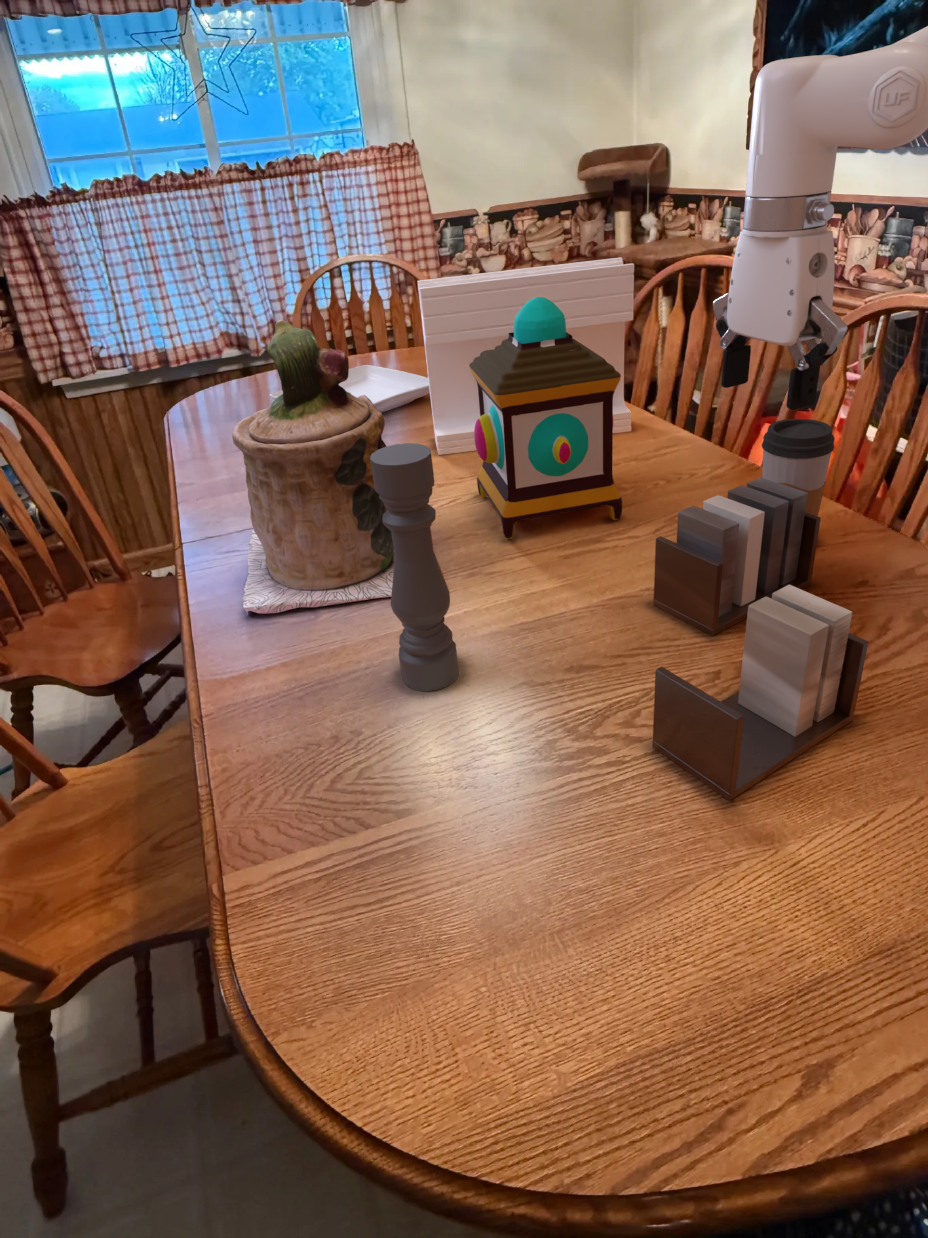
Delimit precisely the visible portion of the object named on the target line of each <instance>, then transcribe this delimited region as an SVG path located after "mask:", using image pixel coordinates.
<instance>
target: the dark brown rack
mask: <svg viewBox="0 0 928 1238" xmlns="http://www.w3.org/2000/svg"><path fill="white" fill-rule="evenodd" d="M852 617H853V611H852V610H850V609H848V608H845V607H843V606H840V605H838V604H835V603H833V602H831V601H829V600H826V599H824V598H822V597H820V596H817V595H815V594H813V593H810V592H807V591H806V590H804V589H802V590H801V589H799V588H796V587H794V586H792V585H788V586H786V587H784V588H782V589H780V590H778V591H776V592H774V593H773V594H772V599H771V598H769V597H764V598H762V599H760V600H758V601H756V602H754V603H752V604H750V605H749V606H748V614H747V618H746V624H745V635H744V642H743V643H744V644H743V654H742V660H741V661H742V662H741V669H740V671H741V672H740V681H739V689H738V691H736V692H735V693H733V694H732V695H729V696H728V697H726V698H724V699H722V700H721V701H720V700H719V699H717V698H716V697H714V696H712V695H711V694H708V693H707V692H705V691H703V690H702V689H700V688H699V687H697V686H695V685H694V684H692V683H690V682H689V681H687V680H685V679H683V678H682V677H680V676H679V675H677V674H675V673H674V672H672V671H670V670H668V669H667V668H665V667H663V666H660V667H657V668H656V669H655V671H654V674H655V675H654V695H653V696H654V697H653V703H654V704H653V724H652V743H651V744H652V745H651V746H652V749H654V750H656V751H657V752H659V754H662V755H663V756H664V757H665V758H667V759H668V760H670V761H672V762H673V763H674V764H676V765H677V766H678V767H680V768H681V769H683V770H684V771H685V772H687V773H689V775H691V776H693V777H694V778H695V779H697V780H698V781H700V782H701V783H702V784H704V785H706V786H707V787H708V788H709V789H711V790H712V791H714V792H715V793H717V794H718V795H719V796H721V797H723V799H725V800H726V801H728V802H730V801H732V800H733V799H734V798H736V797H738V796H739V795H740V794H742V793H744V792H745V791H747V790H748V789H750V788H752V787H753V786H754V785H756V784H757V783H759V782H761V781H762V780H763V779H766V778H768V776H770V775H772V774H773V773H774V772H776V771H778V770H779V769H781V768H782V767H783V766H785V765H787V764H788V763H789V762H791V761H793V760H794V759H796V758H797V757H799V756H800V755H803V754H804V753H806V752H807V751H808V750H809V749H812V748H813V747H814V746H815V745H817V744H819V743H820V742H821V741H823V740H825V739H826V738H828V737H829V736H831V735H832V734H834V733H835V732H837V731H839V730H840V729H841V728H843V727H845V726H847V724H849V723H851V722H852V721H853V720H854V717H855V711H856V706H857V701H858V697H859V692H860V687H861V681H862V677H863V672H864V667H865V661H866V656H867V652H868V647H869V641H868V640H866V639H864V638H861V637H859V636H857V635H855V634H853V633H851V632H850V627H851V623H852Z"/></svg>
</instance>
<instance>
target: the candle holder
mask: <svg viewBox="0 0 928 1238" xmlns="http://www.w3.org/2000/svg"><path fill="white" fill-rule="evenodd" d="M432 457H433V456H432V449H431V448H430V447H429V446H427V445H425V444H421V443H413V442H412V443H410V442H408V443H407V442H406V443H396V444H391V445H388V446H387V445H386V447H384V448H381V449H379V450H376V451H375V452H374V453H373V454H371V457H370V461H371V467H372V474H373V480H374V486H375V491H376V492H377V493H378V494H379V498H380V499H381V500H382V502H383V503H384V505H385V507H386V508H387V509H388V510H387V511H386V512H385V513H384V514H383V517H382V521H383V524H384V525H385V526H386V527H387V528H388V529H389V530H390V531H391V533H392V540H393V547H394V553H395V563H394V574H393V584H392V594H391V597H390V607H391V610H392V613H393V614H394V615H395V616H396V618H397V619H398V620H399V621H400V622H401V626H402V627H403V630H402V632H401V633H400V634H399V641H398V644H399V648H398V659H399V667H400V673H401V678H402V682H403V683H404V685H405V686H406V687H408V688H410V689H412V690H413V691H419V692H420V691H421V692H434V691H435V692H436V691H439V690H441V689H444V688H447V687H449V686H451V685H453V683H455V682H456V680H457V679H458V677H459V674H460V672H459V671H460V668H459V659H458V652H457V644H456V642H455V641H454V640H453V631H452V630H451V628H450V627H449V626H448V625H446V624H445V616H446V615H447V614H448V611H449V609H450V605H451V595H450V593H451V592H450V589H449V587H448V585H447V582H446V580H445V579H446V578H445V577H444V575H443V572H442V569H441V566H440V564H439V561H438V559H437V556H436V554H435V551H434V546H433V545H434V544H433V538H432V537H433V536H432V529H431V526H432V524H433V523H434V521H435V520H436V518H437V517H436V514H437V512H436V509H435V508H434V507H433V506H432V505H430V504H429V503H430V498H431V496H432V495H433V487H434V486H435V475H434V467H433V465H434V464H433V458H432Z"/></svg>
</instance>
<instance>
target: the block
mask: <svg viewBox="0 0 928 1238" xmlns="http://www.w3.org/2000/svg"><path fill="white" fill-rule="evenodd" d="M634 273H635V263H632V262H631V263H625V264H624V261H623V257H612V258H604V259H603V258H602V259H596V260H586V261H579V262H569V263H561V264H551V265H543V266H536V267H534V266H533V267H526V268H515V269H508V270H499V271H490V272H482V273H473V274H463V275H456V276H455V275H454V276H446V277H445V276H444V277H438V278H429V279H421V280H417V290H418V291H417V292H418V299H419V307H420V317H421V325H422V334H423V343H424V352H425V358H426V359H425V361H426V370H427V378H428V380H429V389H430V393H429V397H430V405H431V414H432V423H433V432H434V442H435V445H436V450H437V454H438V456H440V455H443V456H444V455H449V454H457V453H467V452H475V451H477V450H476V446H475V441H474V429H475V424H476V421H477V420H478V418H479V417H480V407H479V395H478V385H477V381H476V380H475V378H474V376H473V374H472V373H471V370H470V367H469V364H470V363H472V362H473V361H474V358H475V357H478V356H480V354H481V352H483V351H486V350H493V349H495V347H496V346H498V345H501V343H502V341H503V340H505V339H508V337H509V333H512V332H514V321H515V316H516V315H517V314H518V312H519V311H520V310H521V308H522V307H523V306H524V305H525V304H526V303H527V302H528V301H529V300H531V299H533V298H536V297H543V298H546V299H548V300H550V301H552V302H553V303H554V304H555V305H556V306H557V307H558V308H559V309H560V310H561V311H562V312H563V314H564V317H565V322H566V332H567V333H568V334H570V335H572V338H573V339H575V340H576V341H578V342H579V343H581V344H583V345H584V346H586V347H587V348H589V349H590V350H592V351H593V352H595V353H596V354H598V355H599V356H601V357H602V358H604V359H605V360H606V362H608V363H609V364H611V365H612V366H613V367H614V368H615V370H616V371H617V372H619V373H620V375H621V378H620V381H619V383H618V385H617V387H616V389H615V392H614V394H613V434H620V433H627V432H632V415H633V414H632V413H633V412H632V411H631V410H630V408H628V407H627V405H626V402H625V329H626V328H625V327H626V326H625V324H626V322H631V321H634V306H635V305H634V304H635V303H634V302H635V301H634V299H635V298H634V297H635V294H634V291H635V274H634Z"/></svg>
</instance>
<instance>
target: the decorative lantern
mask: <svg viewBox="0 0 928 1238" xmlns="http://www.w3.org/2000/svg"><path fill="white" fill-rule="evenodd" d="M469 367H470V370H471V373H472V374H473V376H474V378H475V380H476V381H477V385H478V395H479V407H480V417H479V418H478V420H477V421H476V424H475V429H474V441H475V446H476V450H475V451H476V452H477V454H478V457H480V459H481V461H482V464H481V466H480V468H479V471H478V474H477V478H476V484H477V491H478V494H479V496H480V497H481V498H483V499H484V498H487V499H488V500H489V502H490V503H491V505H492V506H493V508H494V510H495V511H496V513H497V514H498V516H499V518H500V521H501V526H502V533H503V536H504V538H505V539H507V540H510V539H511V540H512V538H513V537H514V529H515V525H516V523H518V522H520V521H523V520H525V521H526V520H531V519H535V518H543V517H548V516H553V515H554V516H555V515H559V514H565V513H571V512H576V511H584V510H588V509H593V508H600V507H605V506H608V508H609V516H610V518H611V519H612V520H613V521H618V520H620V519H621V517H622V515H623V514H622V513H623V499H622V496H621V493H620V491H619V489H618V487H617V485H616V483H615V481H614V476H613V447H614V445H613V444H614V443H613V439H614V438H613V435H614V433H613V394H614V392H615V389H616V387H617V385H618V383H619V381H620V378H621V375H620V373H619V372H617V371H616V370H615V368H614V367H613V366H612V365H611V364H609V363H608V362H606V360H605V359H604V358H602V357H601V356H599V355H598V354H596V353H595V352H593V351H592V350H590V349H589V348H587V347H586V346H584V345H583V344H581V343H579V342H578V341H576V340H575V339H573V338H572V335H570V334H568V333H567V332H566V322H565V317H564V314H563V312H562V311H561V310H560V309H559V308H558V307H557V306H556V305H555V304H554V303H553V302H552V301H550V300H548V299H546V298H543V297H536V298H533V299H531V300H529V301H528V302H527V303H526V304H525V305H524V306H523V307H522V308H521V310H520V311H519V312H518V314H517V315H516V316H515V321H514V332H512V333H509V337H508V339H505V340H503V341H502V343H501V345H498V346H496V347H495V349H493V350H486V351H483V352H481V354H480V356H478V357H475V358H474V361H473V362H472V363H470V364H469Z"/></svg>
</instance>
